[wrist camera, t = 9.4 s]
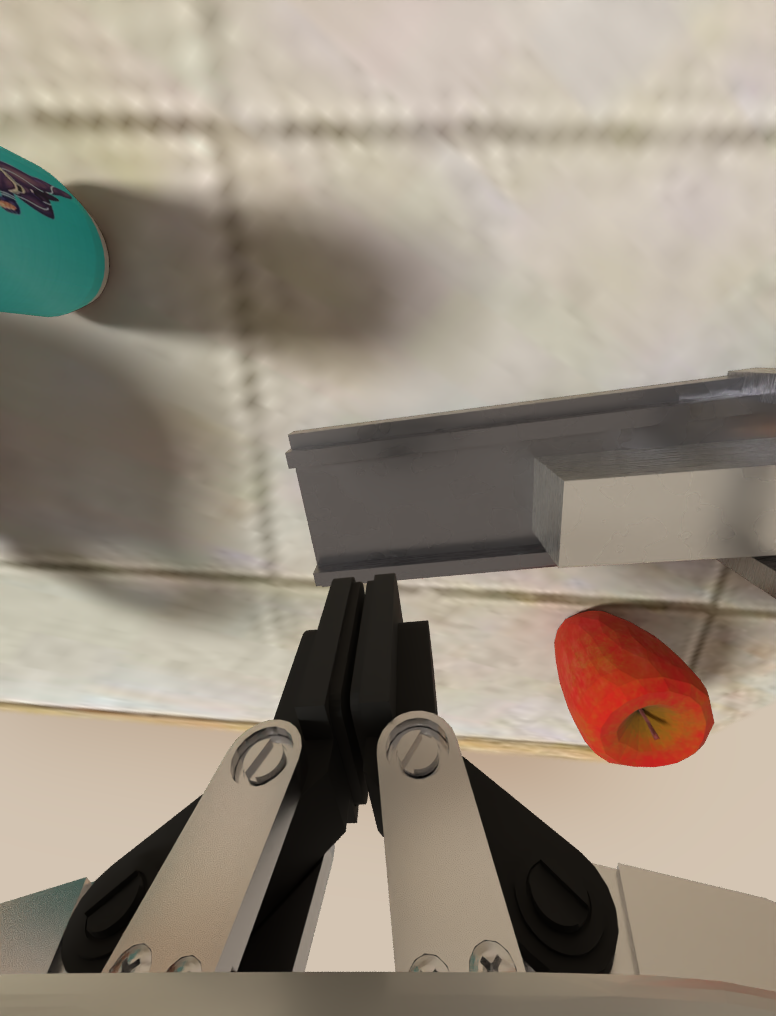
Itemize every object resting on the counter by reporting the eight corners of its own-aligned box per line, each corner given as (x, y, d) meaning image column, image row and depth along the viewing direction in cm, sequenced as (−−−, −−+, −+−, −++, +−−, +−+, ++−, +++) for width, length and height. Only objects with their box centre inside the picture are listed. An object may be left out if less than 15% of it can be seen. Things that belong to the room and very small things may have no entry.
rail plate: (293, 431, 21) (281, 438, 19) (980, 343, 17) (1048, 341, 16) (325, 577, 24) (318, 596, 22) (911, 525, 21) (961, 541, 19)
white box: (531, 530, 21) (558, 568, 17) (534, 456, 19) (564, 480, 16) (902, 505, 19) (1022, 541, 16) (936, 423, 18) (1076, 441, 14)
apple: (663, 620, 24) (769, 730, 17) (591, 684, 26) (659, 806, 19) (583, 570, 23) (660, 665, 16) (515, 640, 25) (557, 752, 18)
